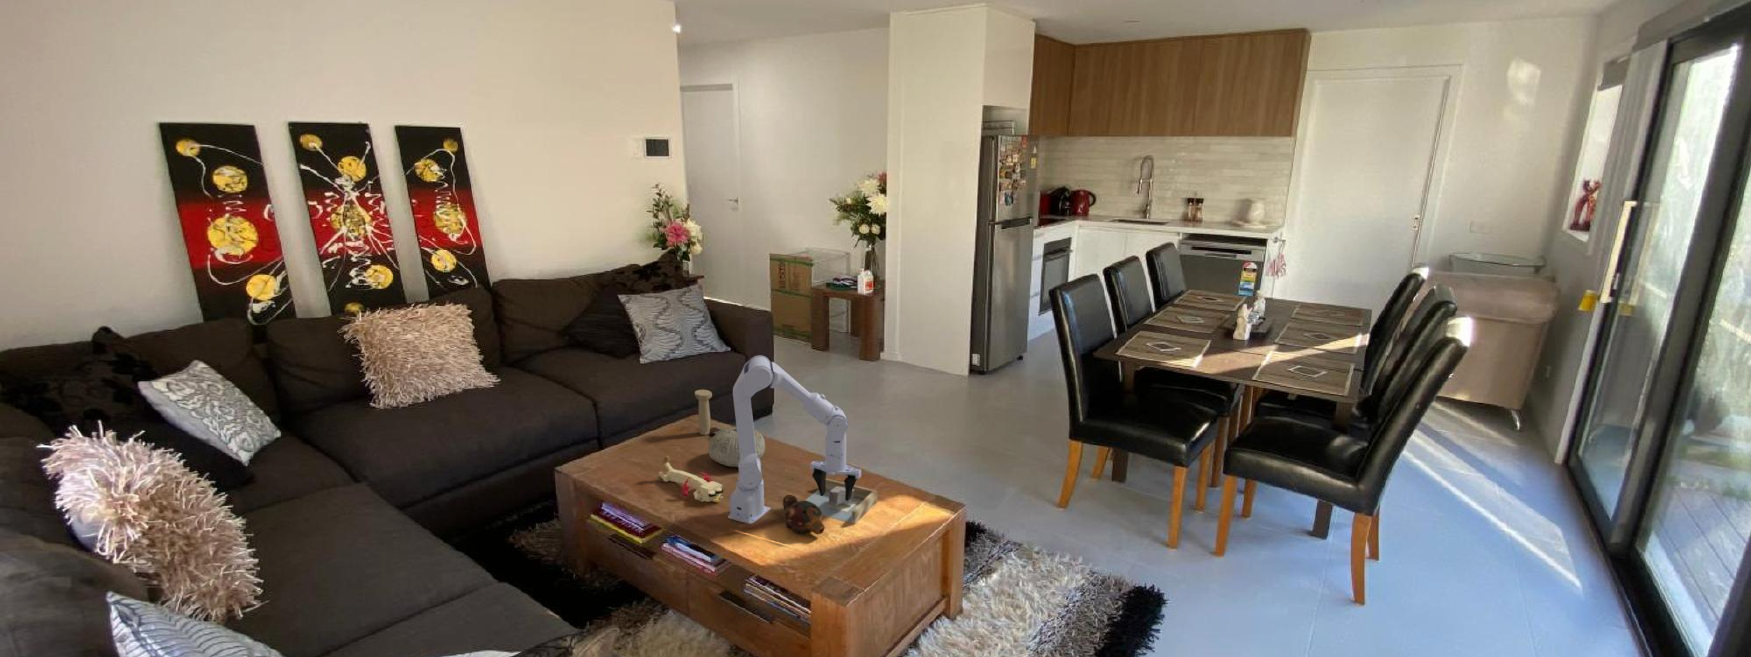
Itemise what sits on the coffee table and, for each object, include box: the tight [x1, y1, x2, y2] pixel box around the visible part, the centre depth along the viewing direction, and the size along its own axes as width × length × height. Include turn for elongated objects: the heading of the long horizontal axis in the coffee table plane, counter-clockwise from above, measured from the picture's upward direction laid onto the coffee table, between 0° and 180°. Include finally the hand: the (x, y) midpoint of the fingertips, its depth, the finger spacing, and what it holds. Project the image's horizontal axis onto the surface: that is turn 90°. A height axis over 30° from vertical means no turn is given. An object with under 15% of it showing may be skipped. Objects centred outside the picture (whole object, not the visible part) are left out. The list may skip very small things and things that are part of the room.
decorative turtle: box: [782, 494, 826, 536], centre depth 200 cm, size 10×15×8 cm, turn 51°
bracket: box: [828, 486, 855, 507], centre depth 212 cm, size 6×6×4 cm
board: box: [804, 488, 863, 524], centre depth 212 cm, size 13×18×1 cm
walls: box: [826, 477, 878, 525], centre depth 212 cm, size 14×18×4 cm
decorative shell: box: [707, 426, 766, 468], centre depth 239 cm, size 18×18×10 cm
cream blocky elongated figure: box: [657, 455, 724, 503], centre depth 219 cm, size 10×9×25 cm
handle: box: [694, 389, 713, 436], centre depth 258 cm, size 5×6×15 cm
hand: (835, 496), depth 212 cm, fingers open, 7 cm apart
